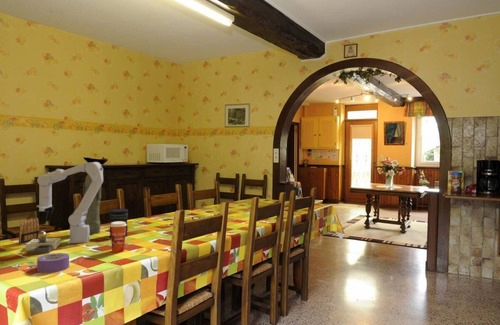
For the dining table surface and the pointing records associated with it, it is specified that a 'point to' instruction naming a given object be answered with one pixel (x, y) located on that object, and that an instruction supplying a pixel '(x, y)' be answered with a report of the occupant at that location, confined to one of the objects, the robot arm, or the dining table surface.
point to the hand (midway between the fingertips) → (45, 222)
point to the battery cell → (41, 237)
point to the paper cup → (118, 236)
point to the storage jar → (119, 217)
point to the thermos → (92, 208)
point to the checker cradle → (40, 249)
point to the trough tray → (53, 241)
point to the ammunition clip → (28, 231)
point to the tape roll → (52, 262)
